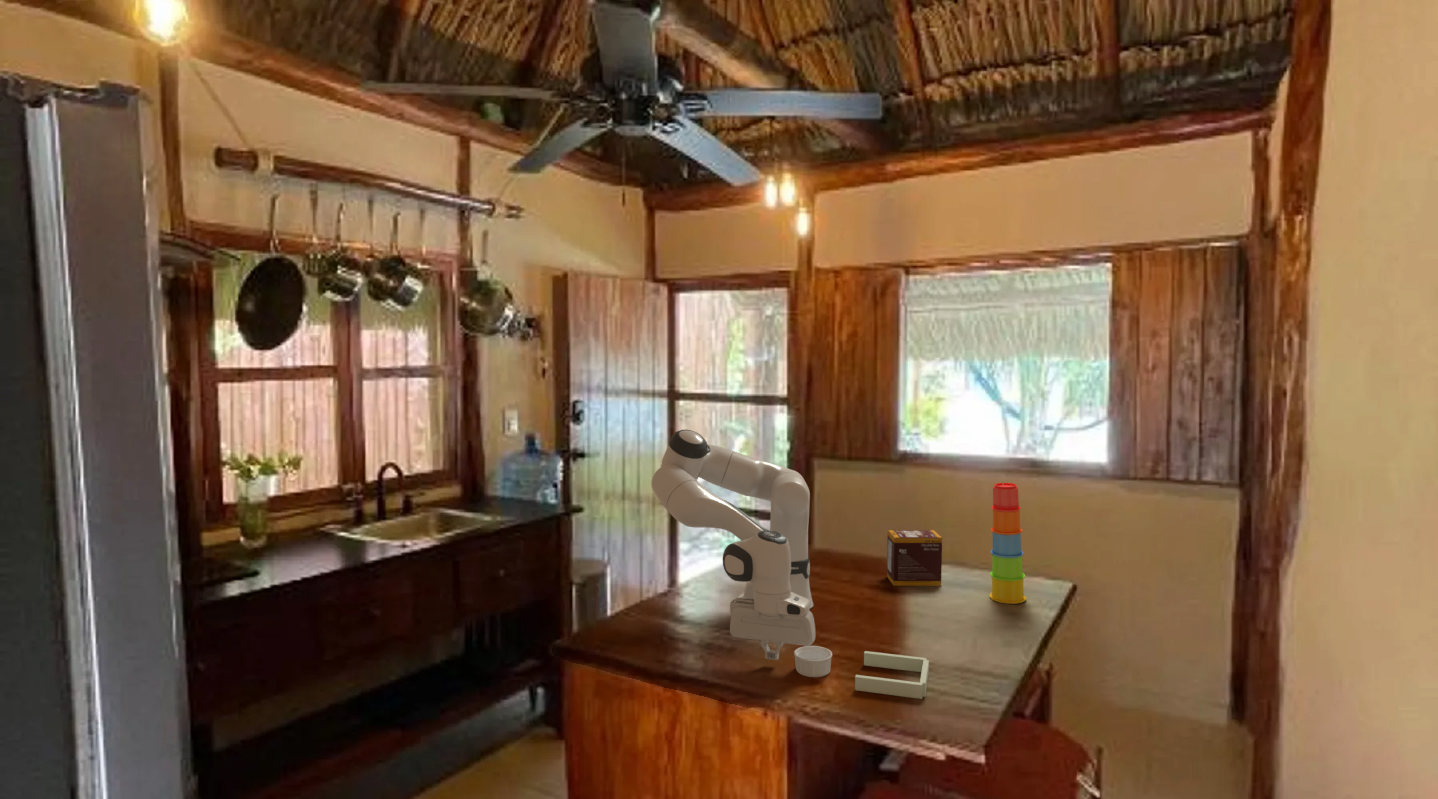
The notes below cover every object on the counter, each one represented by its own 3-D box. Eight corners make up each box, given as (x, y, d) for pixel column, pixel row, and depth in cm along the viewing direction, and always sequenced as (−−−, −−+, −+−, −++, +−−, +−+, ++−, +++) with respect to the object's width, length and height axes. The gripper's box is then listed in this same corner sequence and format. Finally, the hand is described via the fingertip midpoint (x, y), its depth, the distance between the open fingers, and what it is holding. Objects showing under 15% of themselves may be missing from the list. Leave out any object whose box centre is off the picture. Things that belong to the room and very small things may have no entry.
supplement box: (942, 586, 246) (942, 537, 245) (893, 586, 246) (893, 537, 245) (933, 576, 256) (934, 529, 255) (886, 576, 257) (887, 529, 256)
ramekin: (822, 682, 176) (822, 663, 175) (787, 673, 180) (787, 655, 180) (838, 668, 183) (838, 650, 183) (804, 660, 188) (804, 642, 188)
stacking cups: (1026, 605, 227) (1029, 487, 224) (989, 602, 230) (991, 485, 228) (1025, 595, 236) (1027, 481, 234) (989, 592, 240) (991, 480, 237)
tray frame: (855, 690, 171) (855, 676, 171) (864, 663, 186) (864, 651, 185) (924, 699, 166) (925, 685, 166) (929, 671, 181) (929, 658, 181)
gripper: (726, 600, 184) (726, 658, 185) (811, 609, 178) (811, 669, 179) (733, 593, 190) (734, 648, 191) (817, 601, 184) (816, 658, 185)
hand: (772, 658), depth 185 cm, fingers closed
